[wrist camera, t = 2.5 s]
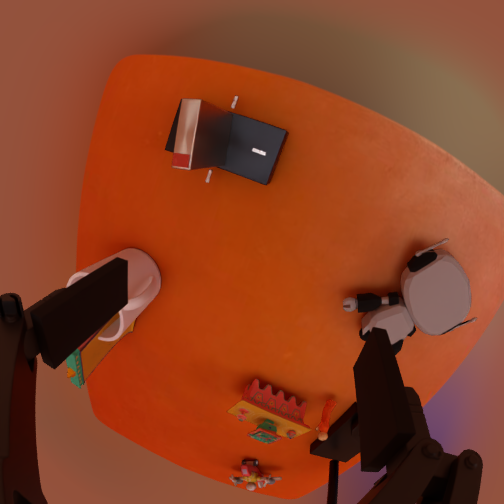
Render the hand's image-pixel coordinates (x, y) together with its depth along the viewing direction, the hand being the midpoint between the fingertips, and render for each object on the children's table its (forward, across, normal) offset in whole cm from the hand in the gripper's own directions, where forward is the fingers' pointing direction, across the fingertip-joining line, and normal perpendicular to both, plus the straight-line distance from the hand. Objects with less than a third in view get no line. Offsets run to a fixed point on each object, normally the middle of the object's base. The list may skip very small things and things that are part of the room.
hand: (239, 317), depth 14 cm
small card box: (+17, -8, +8) cm, 21 cm away
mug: (+20, -17, -11) cm, 29 cm away
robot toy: (+20, +18, -5) cm, 27 cm away
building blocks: (+19, -4, -22) cm, 29 cm away
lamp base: (+20, +20, -31) cm, 42 cm away
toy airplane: (+20, +8, -51) cm, 56 cm away
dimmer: (+20, -8, +8) cm, 23 cm away
